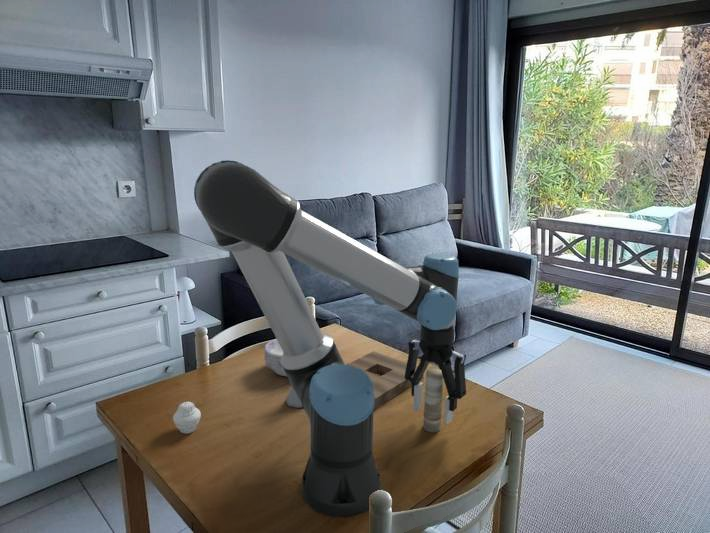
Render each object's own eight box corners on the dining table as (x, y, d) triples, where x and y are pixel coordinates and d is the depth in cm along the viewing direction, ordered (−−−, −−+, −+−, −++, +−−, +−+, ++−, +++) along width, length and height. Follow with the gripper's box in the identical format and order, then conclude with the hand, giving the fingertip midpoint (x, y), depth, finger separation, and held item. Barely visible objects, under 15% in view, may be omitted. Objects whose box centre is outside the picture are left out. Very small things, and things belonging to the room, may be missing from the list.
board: (371, 411, 123) (371, 400, 123) (318, 388, 134) (318, 378, 134) (423, 378, 141) (423, 368, 141) (373, 360, 152) (373, 351, 152)
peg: (435, 434, 114) (438, 378, 111) (419, 427, 117) (422, 373, 113) (444, 426, 117) (447, 372, 114) (428, 420, 120) (431, 367, 116)
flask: (312, 409, 124) (312, 372, 122) (283, 408, 124) (282, 371, 122) (315, 394, 131) (315, 359, 129) (288, 394, 131) (287, 359, 129)
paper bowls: (259, 364, 149) (258, 339, 147) (307, 355, 155) (306, 331, 153) (273, 386, 136) (272, 359, 134) (325, 376, 142) (325, 350, 140)
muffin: (186, 440, 111) (184, 412, 109) (168, 432, 114) (165, 404, 112) (207, 427, 116) (205, 400, 114) (189, 419, 119) (187, 393, 117)
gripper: (488, 329, 107) (480, 424, 113) (409, 309, 120) (405, 395, 125) (472, 340, 102) (464, 439, 107) (390, 317, 114) (387, 406, 120)
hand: (432, 415), depth 116 cm, fingers open, 8 cm apart
